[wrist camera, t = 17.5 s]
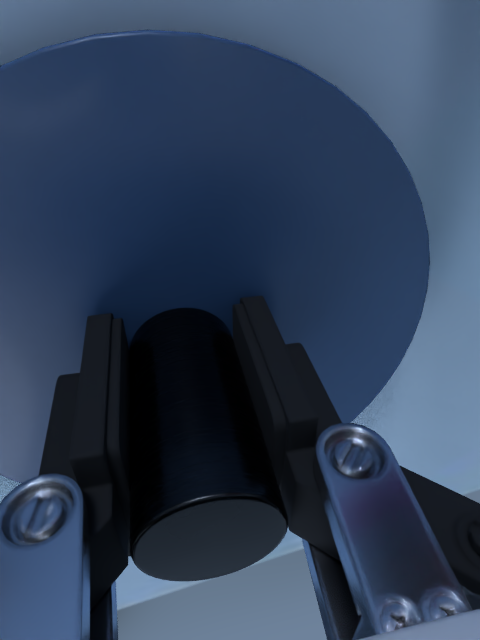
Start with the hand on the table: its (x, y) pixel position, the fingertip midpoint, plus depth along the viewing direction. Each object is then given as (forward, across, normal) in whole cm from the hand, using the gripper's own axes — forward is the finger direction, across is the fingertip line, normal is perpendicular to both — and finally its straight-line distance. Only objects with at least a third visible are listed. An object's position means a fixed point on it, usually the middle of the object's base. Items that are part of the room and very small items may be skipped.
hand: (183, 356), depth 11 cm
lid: (+1, 0, 0) cm, 1 cm away
